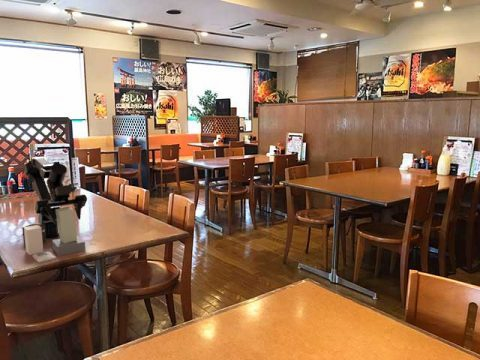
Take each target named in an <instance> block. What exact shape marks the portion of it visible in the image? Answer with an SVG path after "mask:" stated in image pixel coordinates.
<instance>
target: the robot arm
mask: <svg viewBox="0 0 480 360" xmlns="http://www.w3.org/2000/svg"><path fill="white" fill-rule="evenodd" d="M67 171H68V168H67V166H66V165H64V164H62V163H60V161H54V162H53V163H52V162H51V163H50V162H49V161H48V160H47V159H46V158H45V157H44V156H33V157H31V159H30V160H29V161H28V162H26V163H25V165H24V169H23V173H24V175H25V176H26V178H27V180H28V181H30V182H31V183H33V185H34V188H35V190H36V193H37V196H38V199H39V200H37V201H36V203H35V206H34V210H35V213H36V214H37V215H38V218H37V221H38V224H44V229H45V239H51V238H56V237H60V236H59V230H58V223H57V217H56V211H55V209H60V208H61V207H64V206H65V207H66V206H70V205H73V207H74V211H75V213H76V216H77V219H78V220H81V214H82V213H81V211H82V209H83V207H85V206H86V204H87V202H88V197H87V195H86V194H77V195H75V196H74V199H70V197H71V195H70V194H72V193H74V192H75V191H76V188H75V185H74V183H69V184H67V185H64V183H63V182H64V181H65V177H66V175H67ZM45 179H47V180H45Z"/></svg>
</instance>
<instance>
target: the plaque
mask: <svg viewBox="0 0 480 360" xmlns="http://www.w3.org/2000/svg"><path fill="white" fill-rule="evenodd" d="M31 256H32V258H33V259H34V260H35V261H36V262H37V263H38V264H39V263H43V262H47V261H50V260H51V261H52V260H56V256H55V255H54V254H53V253H52V252H50V251H43V252H42V253H37V254H32V255H31Z"/></svg>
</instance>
